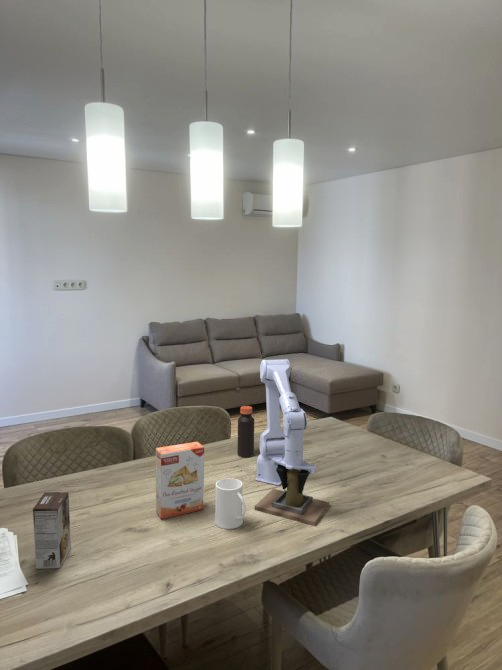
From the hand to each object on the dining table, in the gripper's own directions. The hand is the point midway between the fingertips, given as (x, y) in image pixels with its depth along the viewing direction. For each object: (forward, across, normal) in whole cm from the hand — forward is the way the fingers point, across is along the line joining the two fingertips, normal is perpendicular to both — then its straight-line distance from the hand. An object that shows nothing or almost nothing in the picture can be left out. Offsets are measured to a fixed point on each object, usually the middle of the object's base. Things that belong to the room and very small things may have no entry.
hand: (292, 490), depth 151 cm
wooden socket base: (+6, 0, 0) cm, 6 cm away
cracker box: (+6, -30, -19) cm, 36 cm away
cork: (+5, 0, +1) cm, 5 cm away
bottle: (+6, -34, +32) cm, 47 cm away
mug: (+6, -12, -18) cm, 23 cm away
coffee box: (+6, -44, -55) cm, 71 cm away
